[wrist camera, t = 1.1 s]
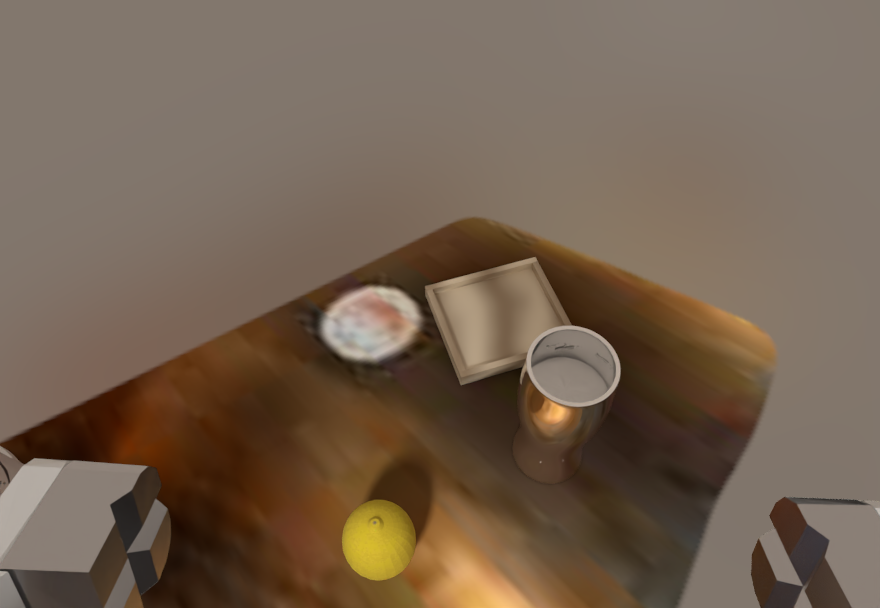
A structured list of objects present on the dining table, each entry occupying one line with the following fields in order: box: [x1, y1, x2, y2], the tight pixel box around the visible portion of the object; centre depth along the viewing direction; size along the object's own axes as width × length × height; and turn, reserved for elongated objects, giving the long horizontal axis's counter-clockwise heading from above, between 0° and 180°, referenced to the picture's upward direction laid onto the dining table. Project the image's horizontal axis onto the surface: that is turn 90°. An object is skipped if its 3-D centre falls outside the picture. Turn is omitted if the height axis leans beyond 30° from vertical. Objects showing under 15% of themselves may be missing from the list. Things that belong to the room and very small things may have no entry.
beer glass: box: [512, 326, 621, 484], centre depth 53 cm, size 7×7×15 cm
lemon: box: [342, 500, 416, 580], centre depth 51 cm, size 6×6×8 cm
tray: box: [425, 257, 572, 385], centre depth 67 cm, size 12×11×2 cm
